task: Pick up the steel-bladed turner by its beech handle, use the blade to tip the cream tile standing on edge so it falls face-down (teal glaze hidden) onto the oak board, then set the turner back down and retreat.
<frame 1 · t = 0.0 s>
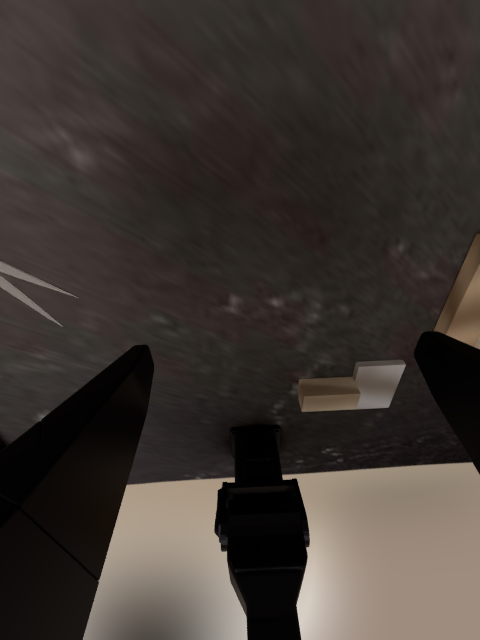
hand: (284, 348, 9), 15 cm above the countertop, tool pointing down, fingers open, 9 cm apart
turner: (324, 385, 32), on the countertop
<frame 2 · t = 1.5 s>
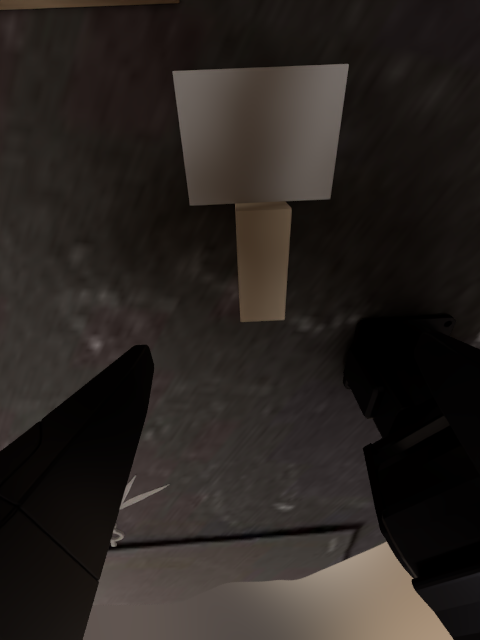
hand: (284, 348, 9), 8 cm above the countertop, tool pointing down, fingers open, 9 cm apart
scissors: (114, 505, 34), on the countertop
turner: (258, 254, 16), on the countertop
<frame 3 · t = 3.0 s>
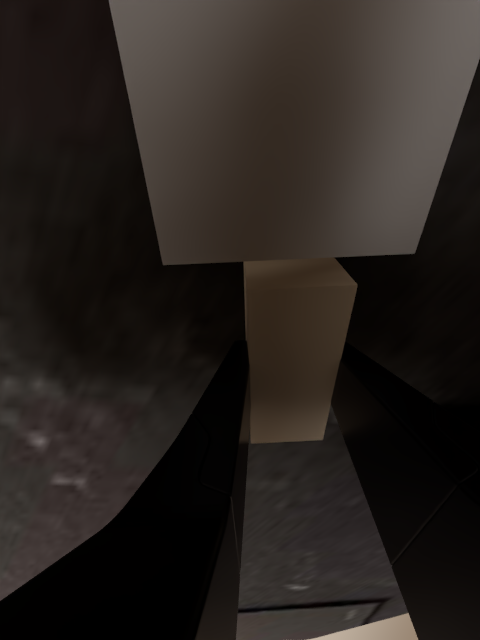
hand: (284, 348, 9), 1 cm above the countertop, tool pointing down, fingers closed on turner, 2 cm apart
turner: (279, 329, 10), on the countertop, touching gripper
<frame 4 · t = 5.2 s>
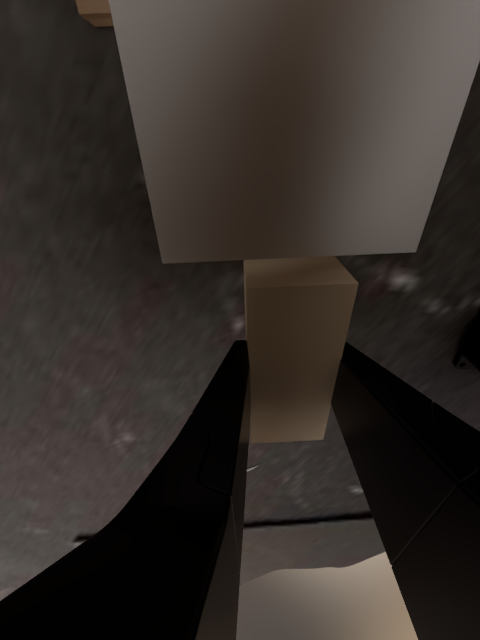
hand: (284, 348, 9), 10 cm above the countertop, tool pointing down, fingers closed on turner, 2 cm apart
turner: (280, 329, 10), point 9 cm above the countertop, touching gripper
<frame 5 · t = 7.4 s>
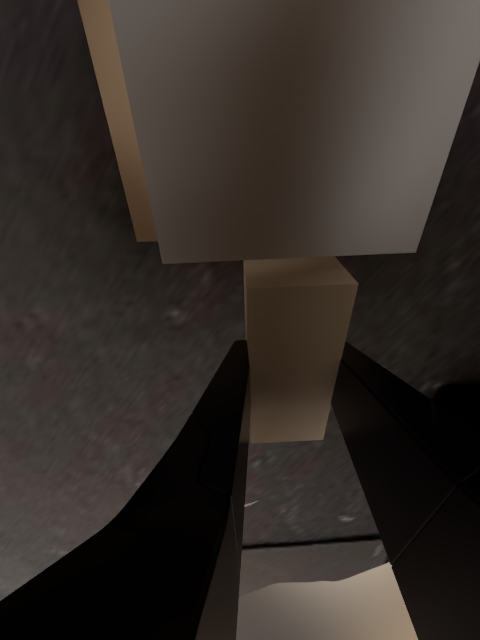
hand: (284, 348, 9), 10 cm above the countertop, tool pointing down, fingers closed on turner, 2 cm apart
turner: (280, 329, 10), point 9 cm above the countertop, touching gripper
oak board: (259, 15, 12), on the countertop
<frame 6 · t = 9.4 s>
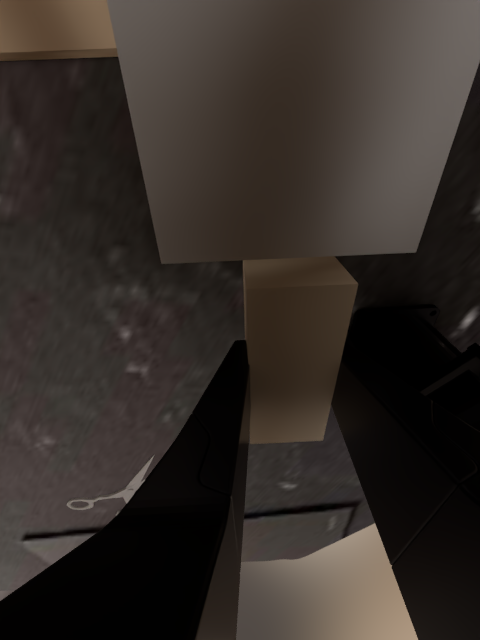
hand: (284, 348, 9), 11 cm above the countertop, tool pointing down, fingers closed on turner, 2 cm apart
scissors: (130, 486, 37), on the countertop
turner: (279, 329, 10), point 10 cm above the countertop, touching gripper
when the fingers open (2 cm above the countertop, at t = 11.5 s): turner drops 1 cm, on the countertop.
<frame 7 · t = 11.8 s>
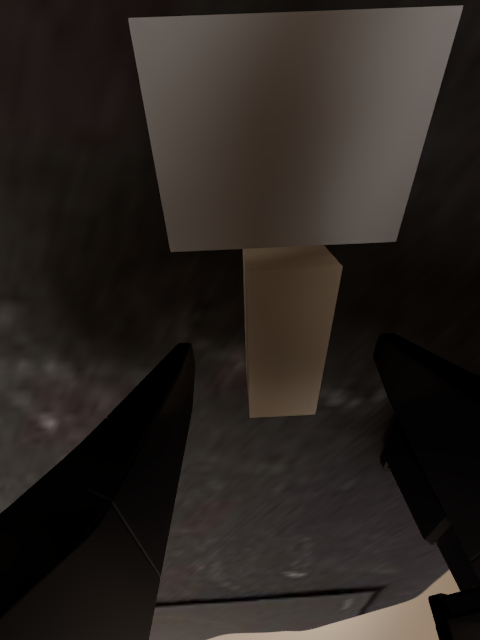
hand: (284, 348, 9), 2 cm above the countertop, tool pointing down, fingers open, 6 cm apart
turner: (276, 314, 11), on the countertop
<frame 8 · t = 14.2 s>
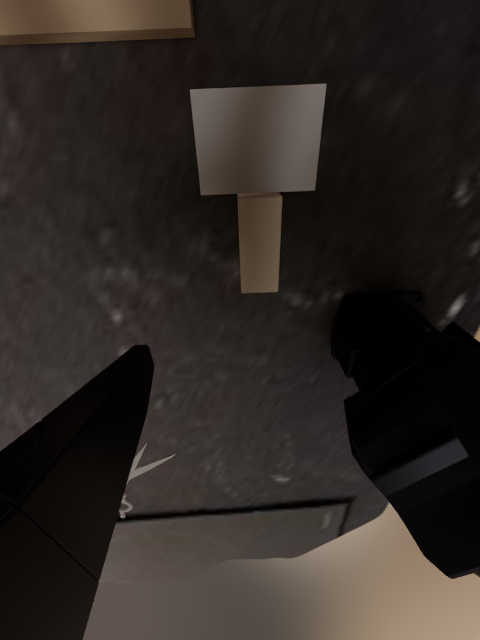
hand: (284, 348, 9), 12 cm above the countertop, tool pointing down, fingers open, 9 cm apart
scissors: (124, 475, 37), on the countertop
turner: (256, 237, 19), on the countertop
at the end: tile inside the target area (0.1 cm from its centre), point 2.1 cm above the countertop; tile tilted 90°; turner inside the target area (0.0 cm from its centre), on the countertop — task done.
